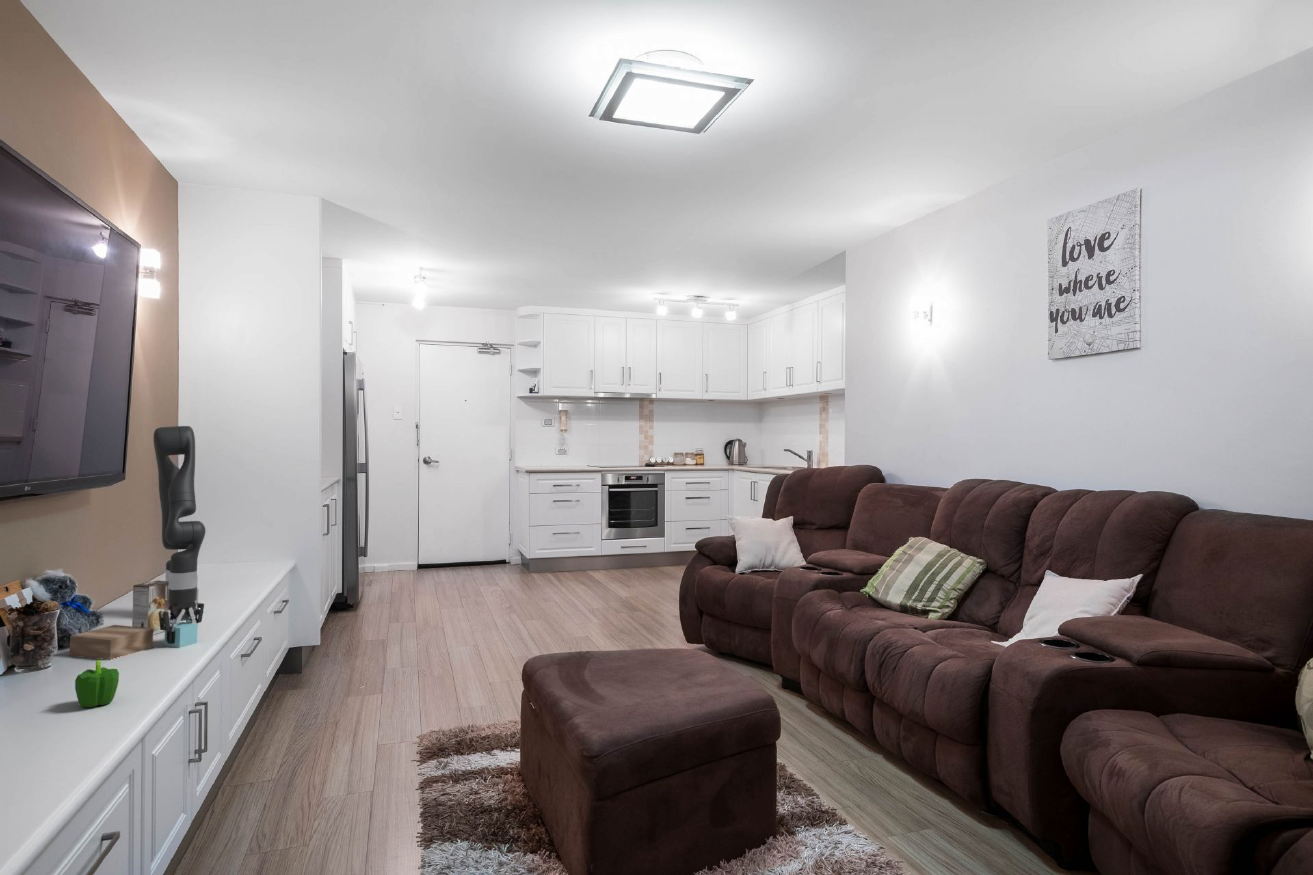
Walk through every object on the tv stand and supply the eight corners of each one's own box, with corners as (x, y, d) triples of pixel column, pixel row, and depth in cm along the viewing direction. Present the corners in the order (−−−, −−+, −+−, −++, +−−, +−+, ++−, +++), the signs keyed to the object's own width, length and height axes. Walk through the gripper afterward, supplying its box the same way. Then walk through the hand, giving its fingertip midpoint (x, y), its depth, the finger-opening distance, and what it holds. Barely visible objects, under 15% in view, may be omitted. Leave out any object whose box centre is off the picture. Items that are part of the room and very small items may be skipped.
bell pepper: (109, 709, 174) (111, 666, 174) (68, 711, 172) (70, 668, 172) (124, 697, 182) (125, 656, 182) (84, 699, 180) (86, 658, 180)
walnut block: (114, 644, 227) (114, 624, 227) (152, 648, 224) (153, 628, 225) (69, 656, 214) (70, 635, 214) (110, 661, 211) (110, 639, 211)
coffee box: (155, 628, 246) (157, 579, 246) (171, 629, 245) (173, 581, 245) (130, 635, 237) (132, 584, 237) (147, 636, 236) (149, 586, 236)
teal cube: (181, 640, 232) (182, 621, 232) (196, 642, 231) (197, 623, 231) (164, 645, 226) (165, 625, 227) (179, 647, 225) (180, 627, 225)
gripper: (193, 581, 237) (191, 634, 236) (151, 589, 223) (149, 645, 223) (212, 583, 235) (210, 636, 234) (171, 591, 221) (169, 647, 221)
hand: (180, 640), depth 229 cm, fingers closed on teal cube, 6 cm apart
